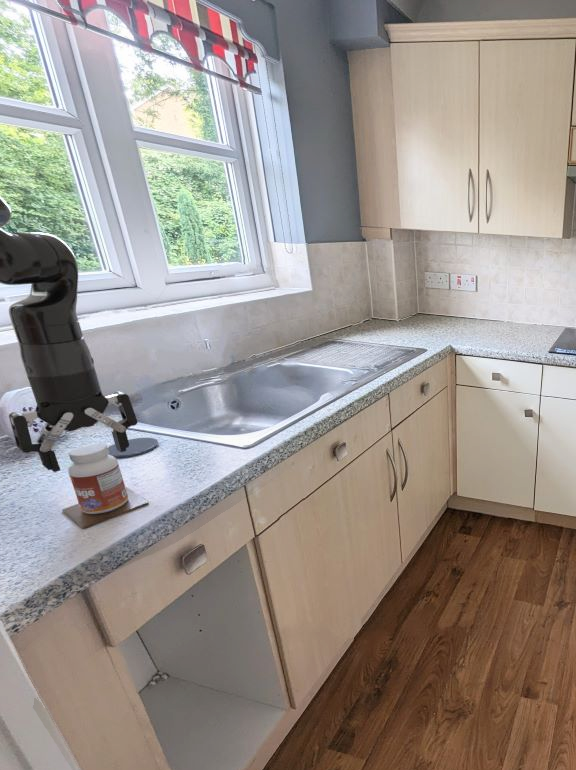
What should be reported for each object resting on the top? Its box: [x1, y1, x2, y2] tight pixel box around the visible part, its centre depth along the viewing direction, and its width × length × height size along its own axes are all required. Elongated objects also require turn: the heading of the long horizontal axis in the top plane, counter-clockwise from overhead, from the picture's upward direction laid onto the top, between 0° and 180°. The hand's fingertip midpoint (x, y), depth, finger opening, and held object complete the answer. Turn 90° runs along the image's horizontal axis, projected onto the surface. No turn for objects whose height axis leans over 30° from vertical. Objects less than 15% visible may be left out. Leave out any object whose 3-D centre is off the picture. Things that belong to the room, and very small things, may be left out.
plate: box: [107, 437, 159, 459], centre depth 100 cm, size 9×9×1 cm
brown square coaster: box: [61, 486, 150, 530], centre depth 80 cm, size 9×9×1 cm
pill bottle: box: [67, 442, 128, 514], centre depth 78 cm, size 6×6×11 cm
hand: (90, 460), depth 76 cm, fingers open, 8 cm apart
